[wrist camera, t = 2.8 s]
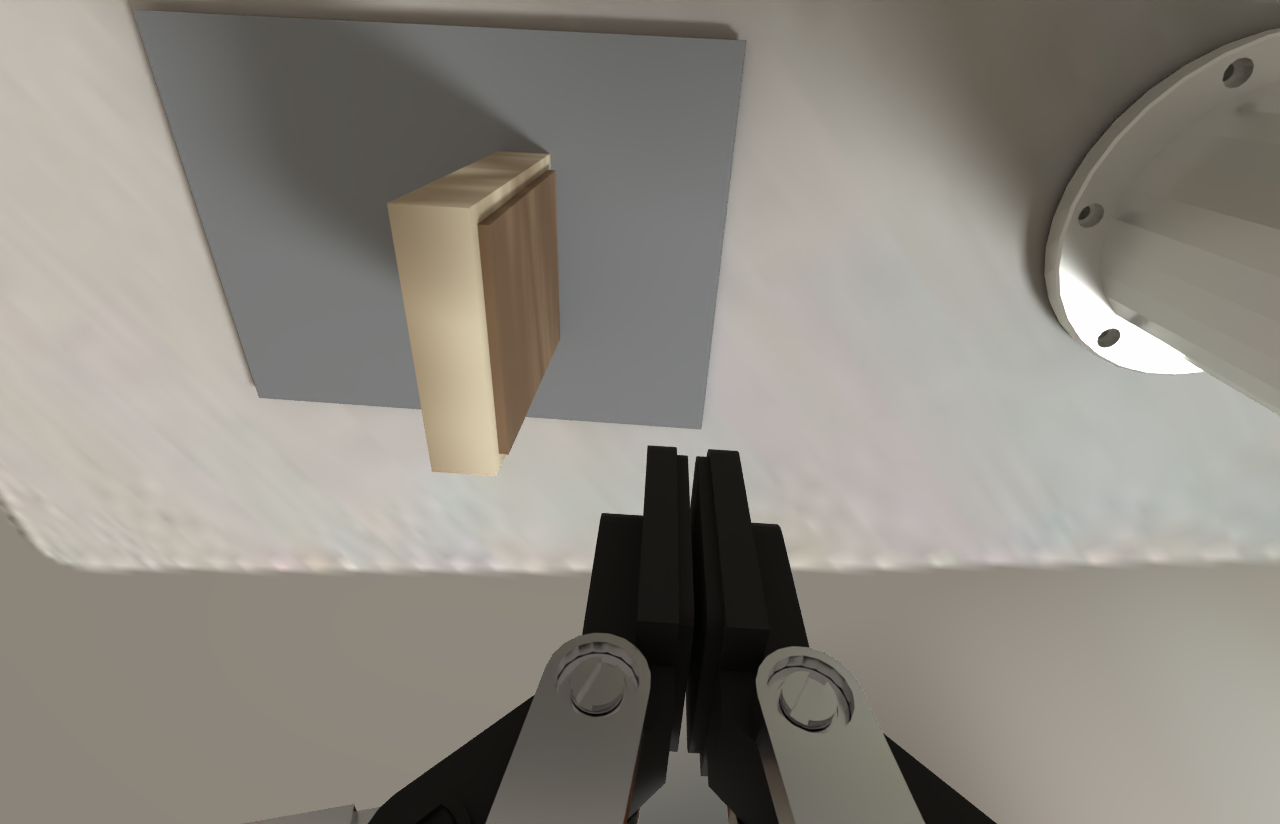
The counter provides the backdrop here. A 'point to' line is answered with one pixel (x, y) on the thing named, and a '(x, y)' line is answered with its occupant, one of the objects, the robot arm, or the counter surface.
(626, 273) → the rubber mat
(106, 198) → the counter surface
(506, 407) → the birch tile
